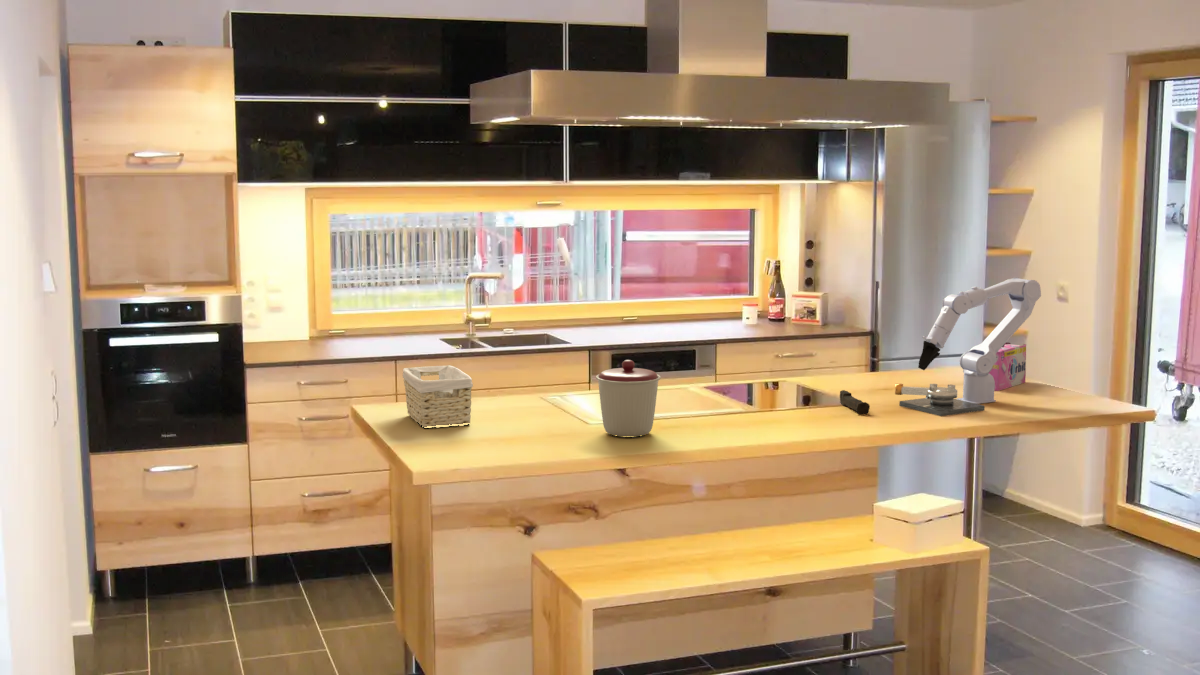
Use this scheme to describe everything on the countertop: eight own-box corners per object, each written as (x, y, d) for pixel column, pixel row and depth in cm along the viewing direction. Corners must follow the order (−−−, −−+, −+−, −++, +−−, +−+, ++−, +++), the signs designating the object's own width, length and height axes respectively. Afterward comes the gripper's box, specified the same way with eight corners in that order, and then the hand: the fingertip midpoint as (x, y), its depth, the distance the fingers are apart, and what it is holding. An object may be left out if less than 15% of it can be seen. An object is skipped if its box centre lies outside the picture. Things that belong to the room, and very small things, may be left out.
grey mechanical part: (957, 397, 367) (957, 384, 367) (956, 402, 359) (957, 389, 358) (895, 393, 373) (896, 381, 372) (894, 399, 364) (894, 386, 364)
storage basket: (475, 427, 338) (474, 376, 336) (419, 431, 333) (418, 380, 330) (454, 411, 360) (453, 364, 358) (402, 415, 355) (400, 367, 353)
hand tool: (869, 415, 355) (870, 400, 355) (857, 415, 355) (857, 400, 354) (849, 403, 374) (849, 389, 373) (836, 403, 374) (837, 389, 373)
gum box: (1005, 379, 416) (1007, 341, 414) (1027, 382, 410) (1029, 343, 408) (975, 388, 398) (977, 349, 396) (998, 391, 393) (1000, 351, 391)
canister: (656, 442, 318) (656, 366, 315) (590, 440, 321) (590, 364, 318) (663, 428, 336) (664, 355, 333) (601, 426, 339) (601, 354, 336)
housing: (942, 400, 377) (942, 389, 376) (984, 410, 361) (984, 399, 360) (899, 405, 368) (899, 394, 368) (940, 416, 353) (941, 404, 352)
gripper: (929, 327, 376) (909, 364, 376) (930, 319, 362) (909, 357, 362) (950, 337, 374) (929, 374, 374) (951, 329, 360) (930, 368, 360)
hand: (921, 367), depth 368 cm, fingers open, 7 cm apart
